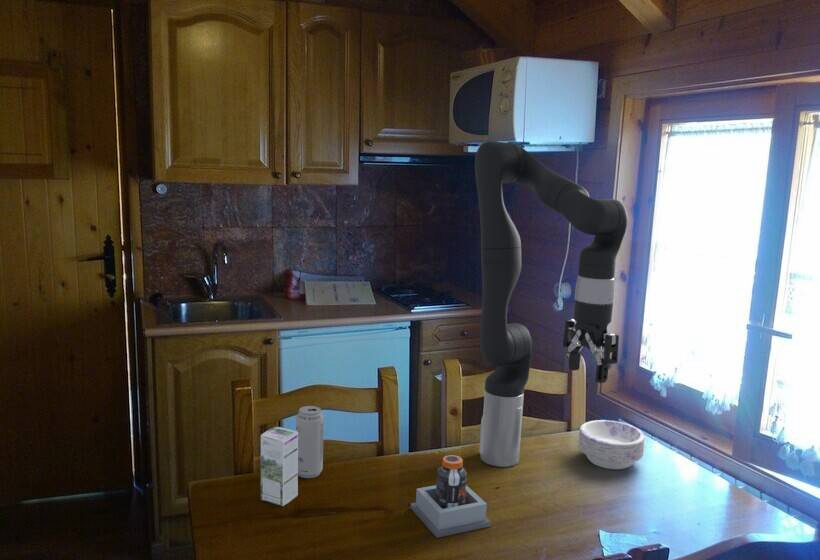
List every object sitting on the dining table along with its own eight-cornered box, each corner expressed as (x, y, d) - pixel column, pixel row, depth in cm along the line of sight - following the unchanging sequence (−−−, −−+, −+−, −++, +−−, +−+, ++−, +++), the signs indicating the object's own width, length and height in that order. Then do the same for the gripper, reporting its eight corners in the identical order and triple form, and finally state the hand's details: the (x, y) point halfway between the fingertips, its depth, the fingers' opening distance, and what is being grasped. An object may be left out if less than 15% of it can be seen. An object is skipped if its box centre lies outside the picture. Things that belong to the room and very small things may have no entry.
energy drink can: (293, 468, 157) (294, 405, 154) (320, 466, 159) (321, 404, 156) (297, 480, 151) (298, 415, 149) (324, 478, 153) (325, 413, 150)
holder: (410, 507, 141) (411, 487, 141) (461, 498, 146) (463, 478, 146) (436, 537, 131) (437, 515, 130) (491, 526, 136) (492, 505, 135)
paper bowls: (567, 463, 166) (570, 432, 165) (590, 443, 178) (592, 414, 177) (630, 482, 157) (634, 449, 156) (649, 460, 170) (653, 429, 168)
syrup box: (298, 495, 145) (299, 430, 142) (282, 507, 139) (283, 440, 137) (276, 489, 147) (277, 424, 144) (259, 501, 142) (259, 434, 139)
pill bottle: (462, 521, 135) (465, 466, 133) (432, 516, 136) (435, 463, 134) (466, 506, 141) (469, 454, 139) (437, 502, 142) (440, 450, 140)
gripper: (633, 305, 134) (625, 385, 137) (586, 291, 147) (579, 364, 150) (602, 307, 131) (594, 388, 134) (557, 292, 144) (551, 367, 147)
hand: (586, 375), depth 142 cm, fingers open, 8 cm apart
